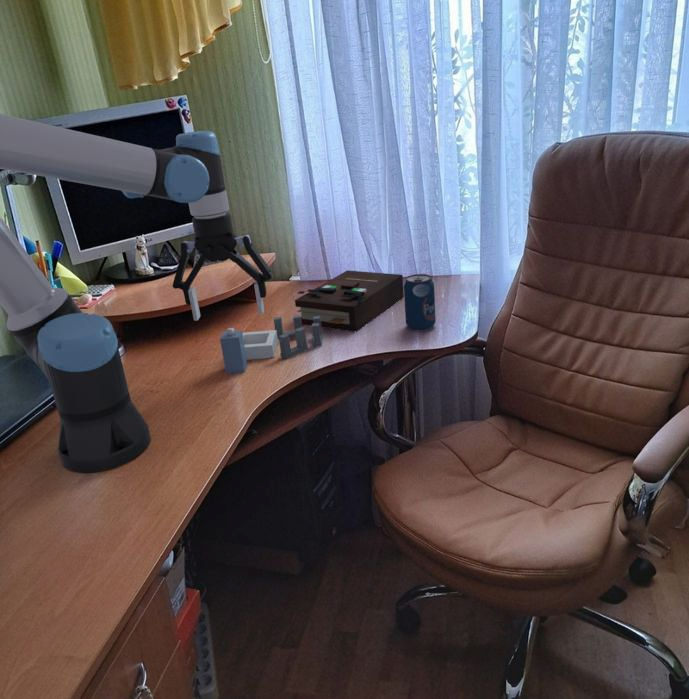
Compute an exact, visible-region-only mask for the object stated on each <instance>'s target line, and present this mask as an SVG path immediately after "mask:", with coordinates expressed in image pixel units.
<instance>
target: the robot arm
mask: <svg viewBox="0 0 689 699" xmlns="http://www.w3.org/2000/svg"><path fill="white" fill-rule="evenodd" d="M175 142H176V143H175V145H174V146H172V147H169V148H164V149H156V148H152V147H147V146H144V145H139V144H135V143H130V142H126V141H121V140H117V139H113V138H110V137H109V138H108V137H105V136H100V135H95V134H91V133H86V132H83V131H77V130H73V129H68V128H64V127H61V126H56V125H52V124H51V125H50V124H47V123H43V122H38V121H34V120H30V119H26V118H20V117H16V116H12V115H8V114H5V113H4V114H3V113H0V169H1V170H4V171H5V170H6V171H12V172H16V173H23V174H27V175H28V174H29V175H33V176H39V177H43V178H50V179H56V180H61V181H65V182H66V181H67V182H71V183H72V182H73V183H78V184H83V185H89V186H94V187H100V188H106V189H110V190H111V189H112V190H117V191H121V192H122V194H123V195H124V196H125V197H127V198H128V199H135V198H137V199H138V198H142V199H143V198H144V197H148V196H150V197H154V198H160V199H164V200H165V199H166V200H170V201H174V202H177V203H180V204H182V203H183V204H188V207H189V212H190V215H191V216H192V219H191V223H192V228H193V233H194V238H195V241H189V240H188V239H185V240H183V241H182V242H181V243H180V257H179V260H178V265H177V268H176V271H175V275H174V279H173V283H172V288H173V289H178V290H182V292H183V297H184V302H185V304H186V306H190V308H191V312H192V318H193V321H196V322H198V321H199V319H200V318H201V312H200V307H199V302H198V297H197V294H196V291H197V290H196V287H195V286H191V285H192V283H193V282H194V280H195V278H196V277H197V275H198V273H199V272H200V271H201V269H202V267H203V266H204V265H205V263H206V261H208V262H210V263H215V262H217V261H219V262H226V261H227V260H230V261H231V262H233V263H235V264H236V265H237V266H238V267H240V268H241V270H243V271H244V272H245V273H246V274H247V275H248V276H250V277H251V278H252V279H253V280H254V284H253V286H254V292H255V298H256V300H255V301H256V305H257V310H258V315H259V316H262V315H264V312H265V306H264V298H266V296H267V287H266V281H269V280H271V279H272V277H273V271H272V270H271V268H270V267H269V264H267V263H266V261H265V259H264V258H263V257H262V256H261V254H260V252H259V251H258V250H257V249H256V247H255V246H254V244H253V241H252V238H251V237H252V236H251V234H249V233H245V234H244V235H241V236H238V237H236V236H235V234H234V229H233V222H232V221H233V220H232V216H231V213H229V212H228V211H229V210H230V205H229V199H228V194H227V189H226V185H225V178H224V171H223V166H222V160H221V159H222V158H221V156H222V155H221V152H220V147H219V143H218V139H217V136H216V134H215V133H214V132H213V131H211V130H197V131H190V132H183V133H179V134H178V135H176V137H175ZM237 245H240V246H241V248H245V251H246V252H247V255H249V257H250V258H251V260H252V261H253V262H254V264H255V265H256V267H257V268H258V269H257V268H256V267H255V266H253V265H252V264H251V263H250V262H249V261H248V260H247V259H246V258H245V257H244V256H242V255H241V253H240V252H239V251H238V250H237V249H236V246H237ZM193 249H195V250H196V251H197V252H199V254H200V257H199V258H198V260H197V261H196V263H195V265H194V267H193V268H192V269H191V271H190V273H189V275H188V277H186V279H185V281H184V280H183V278H184V275H185V271H186V268H187V264H188V261H189V257H190V253H192V252H193ZM0 306H1V307H2V308H3V310H4V311H5V312H6V314H7V321H6V328H7V330H8V331H9V332H10V333H11V334H12V335H13V337H14V338H15V340H17V342H18V343H19V344H20V345H21V347H22V348H23V349H24V352H25V353H26V354H27V355H28V357H29V358H30V359H31V360H32V361H33V362H34V363H35V364H36V365H37V366H38V368H39V369H40V370H41V372H42V373H43V374H44V375H45V377H46V378H47V380H48V382H49V386H50V388H51V392H52V395H53V398H54V402H55V406H56V409H57V412H58V415H59V421H60V422H59V435H58V444H57V445H58V447H57V449H58V451H57V452H58V455H59V459H60V461H61V462H60V463H61V465H62V466H63V467H64V468H66V469H67V470H69V471H72V472H77V473H96V472H101V471H103V472H104V471H107V470H110V469H114V468H118V467H120V466H122V465H124V464H126V463H128V462H131V461H133V460H134V459H135V458H138V457H140V456H141V454H142V453H144V452H145V451H146V449H148V447H149V446H150V444H151V441H152V437H151V433H150V429H149V425H148V424H147V421H145V419H144V417H143V416H142V415H141V413H140V411H139V410H138V409H137V407H136V406H135V404H134V403H133V402H132V399H131V396H130V395H131V394H130V391H129V387H128V383H127V378H126V375H125V370H124V365H123V362H122V357H121V353H120V350H119V340H118V337H117V334H116V332H115V331H114V328H113V325H112V323H111V322H110V320H109V319H107V318H106V317H105V316H102V315H100V314H97V313H91V314H89V313H87V312H83V311H82V309H81V308H80V307H79V305H78V304H77V303H76V302H75V299H73V297H72V296H71V295H70V294H69V292H68V290H66V289H65V288H61V287H54V286H53V285H52V284H51V282H49V279H47V277H46V276H45V275H44V273H43V272H42V271H41V269H40V268H39V267H38V265H37V264H36V263H35V261H34V260H33V259H32V257H31V256H30V255H29V253H28V252H27V250H26V249H25V248H24V247H23V245H22V244H21V242H20V241H19V240H18V239H17V237H16V236H15V234H14V233H13V232H12V230H11V229H10V228H9V226H8V225H7V224H6V222H5V221H4V219H3V218H1V216H0Z"/></svg>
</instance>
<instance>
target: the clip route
mask: <svg viewBox="0 0 689 699" xmlns="http://www.w3.org/2000/svg"><path fill="white" fill-rule="evenodd" d="M301 317H302V314H298V315H293V326H294V327H293V328H294V331H284V328H283V321H282V320H283V319H282V316H275V317H274V318H273V326H274V330H277V337H278V344H279V349H280V358H281V357H282V358H283V359H284V358H285V359H284V360H288V359H289V358H292V357H294V356H297V355H299V354H300V353H303V352H305V350H306V351H308V350H309V347H308V344H307V343H308V342H307V337H306V335H307V334H306V329H305V328H303V325H302V323H301ZM322 328H323V327H321V319H320V316H314V317H313V324H312V326H311V332H312V341H313V342H312V345H313V348H317V346H320V347H322V346H323V345H322V344H323V338H324V337H323V336H324V335H323V330H322ZM291 339H295V341H296V342H295V343H296V345H295V346H293V347H291V341H290V340H291ZM282 358H281V359H282Z"/></svg>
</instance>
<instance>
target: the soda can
mask: <svg viewBox="0 0 689 699" xmlns="http://www.w3.org/2000/svg"><path fill="white" fill-rule="evenodd" d="M403 292H404V298H403V299H404V313H405V314H404V315H405V324H406V325H407V327H408V329H410V331H413V332H427V331H430V330H431V329H433V327H434V326H435V324H436V320H437V319H436V298H435V295H436V294H435V283H434V281H433V280H432V276H431V275H429V274H424V273H419V274H418V273H417V274H410V275H408V276H407V277H406V278H405V282H404V283H403Z"/></svg>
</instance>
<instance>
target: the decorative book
mask: <svg viewBox="0 0 689 699" xmlns="http://www.w3.org/2000/svg"><path fill="white" fill-rule="evenodd" d="M403 278H404V277H403V274H398V273H383V272H373V271H360V270H359V271H358V270H350V269H349V270H345V271H344V272H342V273H340V274H338V275H336V276H334V277H333V278H331V279H330V280H327V281H326V282H324V283H323V284H321V285H319V286H317V287H315V288H313V289H309V288H308V290H305V291H304V290H303V291H298V292H297V294H300V295H301V294H303V295H301V296H299V297H298V298H296V299H294V305H295V308H296V307H297V308H300V309H299V310H297V311H296V312H297V313H300V315H301V323H302V326H310V327H312V324H313V317H314V316H320V319H321V328H323V327H324V329H330V328H332V330H338V329H340V330H339V331H345V330H348V331H347V332H353V331H356V332H355V333H357V332H359V331H360V330H361V329H363V328H364V327H365V325H366V324H367V325H368V324H370V323H371V322H373V321H374V320H376V319H377V318H378V317H379V316H380V314H381V313H382V314H384V313H385V312H386V311H388V310H389V309H390V308H392V307H393V306H394V304H395V303H396V302H397V303H398V301H399V300H400V301H401V300H403V299H404V298H403V297H404V279H403ZM304 293H305V294H304ZM402 298H403V299H402ZM400 301H399V302H400ZM397 303H396V304H397ZM396 304H395V305H396ZM391 306H392V307H391ZM387 309H388V310H387ZM384 311H385V312H384ZM382 314H381V315H382ZM377 316H378V317H377ZM376 317H377V318H376ZM373 319H374V320H373ZM369 322H370V323H369ZM367 325H366V326H367ZM362 327H363V328H362ZM358 330H359V331H358Z"/></svg>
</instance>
